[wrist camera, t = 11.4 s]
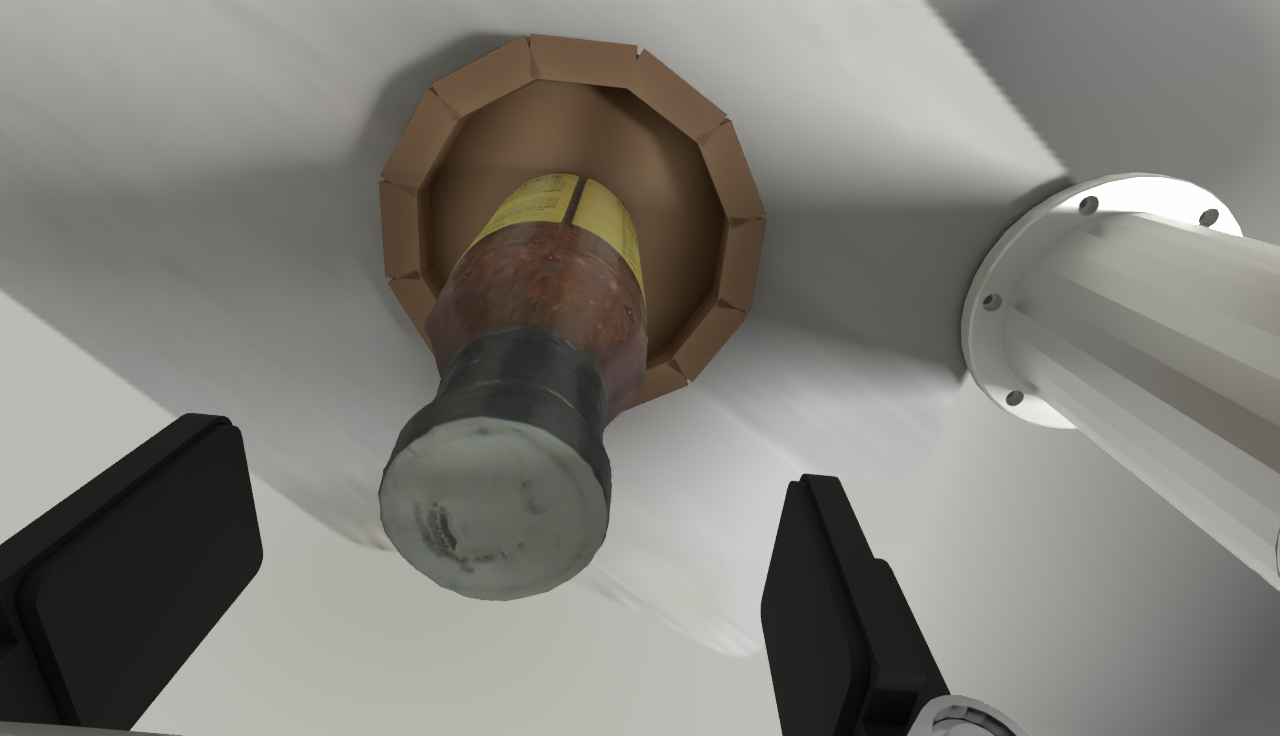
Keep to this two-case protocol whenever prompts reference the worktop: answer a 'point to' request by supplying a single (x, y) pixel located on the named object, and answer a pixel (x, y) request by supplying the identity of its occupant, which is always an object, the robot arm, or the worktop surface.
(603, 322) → the sauce bottle
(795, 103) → the worktop surface
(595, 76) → the walnut bowl
